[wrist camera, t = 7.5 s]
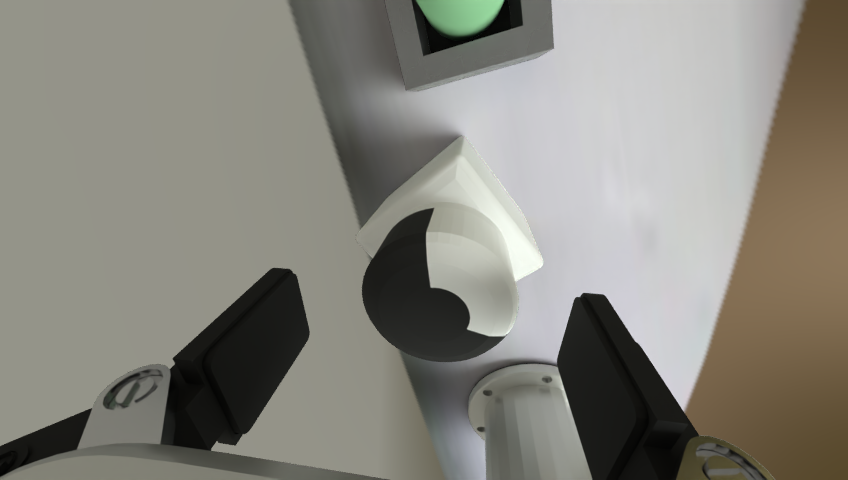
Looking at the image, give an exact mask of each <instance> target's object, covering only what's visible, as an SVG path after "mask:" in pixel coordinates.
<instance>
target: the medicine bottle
mask: <svg viewBox="0 0 848 480" xmlns="http://www.w3.org/2000/svg"><path fill="white" fill-rule="evenodd" d="M356 241H357V243H358V244H359V245H360V246H361V247H362V248H363V249H364V250H365V251H366V252H367V253H368V254H369V255H370V256H371V257H372V258H373V259H372V260H371V262H370V264H369V266H368V268H367V270H366V272H365V275H364V279H363V285H362V297H363V303H364V306H365V309H366V312H367V314H368V316H369V318H370V320H371V321H372V323H373V324H374V326H375V327H376V329H377V330H378V331H379V333H380V334H381V335H382V336H383V337H384V338H385V339H386V340H387V341H388V342H390V343H391V344H392V345H394V346H395V347H396V348H398V349H400V350H402V351H403V352H405V353H407V354H410V355H412V356H415V357H418V358H421V359H425V360H429V361H436V362H456V361H463V360H467V359H471V358H474V357H477V356H479V355H481V354H483V353H485V352H487V351H488V350H490V349H491V348H493V347H494V346H496V345H497V344H498V343H499V342H501V341H502V340H503V339H504V338H505V336H506V335H507V334H508V333H509V331H510V330H511V328H512V326H513V325H514V322H515V320H516V317H517V313H518V308H519V296H518V290H517V285H516V281H518V280H519V279H521V278H523V277H525V276H527V275H528V274H530V273H532V272H534V271H536V270H537V269H539V268H541V267H542V265H543V259H542V256H541V254H540V252H539V249H538V247H537V244H536V242H535V240H534V237H533V235H532V233H531V230H530V228H529V226H528V223H527V221H526V219H525V216H524V214H523V212H522V211H521V210H520V208H519V207H518V206H517V204H516V203H515V202H514V200H513V199H512V198H511V196H510V195H509V193H508V192H507V191H506V189H505V188H504V187H503V185H502V184H501V183H500V181H499V180H498V179H497V177H496V176H495V175H494V173H493V172H492V171H491V169H490V168H489V167H488V165H487V164H486V163H485V161H484V160H483V159H482V157H481V156H480V155H479V153H478V152H477V151H476V149H475V148H474V147H473V145H472V144H471V143H470V141H469V140H468V139H467V138H466V137H465V136H460V137H458V138H457V139H456V140H455V141H454V142H452V143H451V144H450V145H449V146H448V147H447V148H445V149H444V150H443V151H442V152H441V153H439V154H438V155H437V156H436V157H435V158H433V159H432V160H431V161H430V162H429V163H427V164H426V165H425V166H424V167H423V168H421V169H420V170H419V171H418V172H417V173H416V174H414V175H413V176H412V177H411V178H410V179H408V180H407V181H406V182H405V183H404V184H402V185H401V186H400V187H399V188H398V189H396V190H395V191H394V192H393V193H392V194H390V195H389V196H388V197H387V198H386V200H385V201H384V202H383V203H382V204H381V206H380V207H379V208H378V209H377V210H376V212H375V213H374V214H373V215H372V216H371V218H370V219H369V220H368V221H367V222H366V224H365V225H364V226H363V227H362V228H361V229H360V231H359V232H358V233H357V235H356Z"/></svg>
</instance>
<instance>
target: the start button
mask: <svg viewBox="0 0 848 480" xmlns="http://www.w3.org/2000/svg"><path fill="white" fill-rule="evenodd" d="M416 1H417V3H418V5H419V6H420V8H421V10H422V11H423V13H424V15H425V16H426V18H427V20H428V21H429V23H430V24H431V26H432V27H433V28H434V29H435V30H436V31H437V32H438V33H439V34H440V35H442V36H443V37H445V38H448V39H450V40H455V41H465V40H470V39H472V38H475V37H477V36H479V35H481V34H482V33H483V32H485V31H486V30H487V29H488V28H489V27H490V26H491V25H492V23H493V22H494V21H495V19H496V18H497V16H498V14H499V12H500V10H501V8H502V5H503V3H504V0H416Z"/></svg>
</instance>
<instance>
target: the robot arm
mask: <svg viewBox="0 0 848 480" xmlns="http://www.w3.org/2000/svg"><path fill="white" fill-rule="evenodd" d="M308 338H309V326H308V322H307V318H306V313H305V310H304V305H303V301H302V296H301V292H300V288H299V283H298V279H297V276H296V274H293V272H292V271H291V270H290V269H282V268H272V269H271V270H269V271H268V272H267V273H266V274H265V275H264V276H263V277H262V278H260V279H259V280H258V281H257V282H256V283H255V284H254V285H253V286H252V287H251V288H249V289H248V290H247V291H246V292H245V293H244V294H243V295H242V296H241V297H240V298H239V299H237V300H236V301H235V302H234V303H233V304H232V305H231V306H230V307H229V308H227V309H226V311H224V312H223V313H222V314H221V315H220V316H219V317H218V318H216V319H215V320H214V321H213V322H212V323H211V324H210V325H209V326H208V327H207V328H206V329H204V330H203V331H202V332H201V333H200V334H199V335H198V336H197V337H196V338H194V339H193V340H192V341H191V342H190V343H189V344H188V345H187V346H186V347H185V348H184V349H183V350H181V351H180V352H179V353H178V354H177V355H176V356H175V357H174V358H173V360H174V362H175V365H174V366H173V367H172V368H171V369H169V368H168V367H167V366H165V365H161V364H155V365H148V366H144V367H140V368H138V369H135V370H133V371H130V372H128V373H127V374H125V375H123V376H121V377H119V378H118V379H116V380H115V381H114V382H112V383H111V384H110V385H108V386H107V387H106V388H105V389H104V390H103V391H102V392H101V393H100V395H99V396H98V398H97V399H96V401H95V403H94V406H93V408H91V409H88V410H86V411H84V412H81V413H79V414H76V415H74V416H72V417H69V418H67V419H64V420H62V421H59V422H57V423H55V424H52V425H50V426H47V427H45V428H43V429H40V430H38V431H35V432H33V433H31V434H28V435H26V436H23V437H21V438H18V439H16V440H13V441H11V442H9V443H6V444H4V445H2V446H0V480H387V479H381V478H376V477H369V476H364V475H357V474H352V473H346V472H339V471H334V470H328V469H322V468H315V467H309V466H302V465H297V464H291V463H284V462H278V461H272V460H266V459H260V458H253V457H247V456H241V455H235V454H229V453H222V452H215V451H211V448H212V447H213V445H214V444H215V443H216V441H218V443H223V444H229V445H236V444H237V442H238V441H239V439H240V438H241V436H242V434H246V433H247V432H248V431H249V430H250V429H251V428H252V426H253V424H254V423H255V421H256V420H257V418H258V417H259V415H260V414H261V412H262V411H263V409H264V407H265V406H266V404H267V403H268V401H269V400H270V398H271V397H272V395H273V393H274V392H275V390H276V389H277V387H278V386H279V384H280V382H281V381H282V379H283V378H284V376H285V375H286V373H287V372H288V370H289V369H290V367H291V366H292V364H293V362H294V361H295V359H296V358H297V356H298V355H299V353H300V352H301V350H302V348H303V347H304V345H305V344H306V342H307V340H308ZM557 366H558V367H556V366H552V365H544V364H520V365H514V366H509V367H506V368H503V369H500V370H497V371H495V372H493V373H491V374H489V375H487V376H486V377H484V378H483V379H482V380H481V381H479V382H478V383H477V385H476V386H475V387H474V388H473V390H472V392H471V394H470V396H469V403H468V417H469V420H470V423H471V425H472V427H473V429H474V430H475V432H476V433H477V434H478V435H479V436H480V437H481V438H482V439H483V440H485V454H486V480H775V479H774V478H773V477H772V476H771V474H770V473H769V472H768V471H767V470H766V469H765V468H764V467H763V466H762V465H761V464H759V463H758V462H757V461H756V460H755V459H754V458H753V457H751V456H750V455H748V454H747V453H745V452H744V451H742V450H741V449H740V448H738V447H736V446H734V445H732V444H730V443H728V442H726V441H724V440H721V439H718V438H715V437H711V436H699V435H698V433H697V431H696V430H695V428H694V427H693V425H692V424H691V422H690V421H689V419H688V418H687V416H686V415H685V413H684V412H683V410H682V409H681V407H680V406H679V404H678V402H677V401H676V399H675V398H674V396H673V395H672V393H671V392H670V390H669V389H668V387H667V386H666V384H665V383H664V381H663V380H662V378H661V377H660V375H659V374H658V372H657V371H656V369H655V368H654V366H653V364H652V363H651V361H650V360H649V358H648V357H647V355H646V354H645V352H644V351H643V349H642V348H641V347H640V345H639V344H638V343H636V342H635V341H634V339H633V338H632V336H631V335H630V333H629V332H628V330H627V328H626V327H625V325H624V324H623V322H622V321H621V319H620V318H619V316H618V315H617V313H616V311H615V310H614V308H613V307H612V305H611V304H610V302H609V301H608V299H607V298H606V296H605V295H602V294H590V293H583V294H582V295H581V297H576V298H575V300H574V303H573V306H572V310H571V313H570V316H569V320H568V323H567V327H566V330H565V334H564V337H563V341H562V344H561V347H560V351H559V354H558V358H557Z"/></svg>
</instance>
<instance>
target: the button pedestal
mask: <svg viewBox="0 0 848 480" xmlns="http://www.w3.org/2000/svg"><path fill="white" fill-rule="evenodd" d="M384 1H385V5H386V9H387V13H388V18H389V22H390V26H391V30H392V34H393V38H394V43H395V47H396V51H397V55H398V59H399V64H400V68H401V72H402V76H403V80H404V85H405V89H406V90H408V91H421V90H425V89H429V88H432V87H436V86H439V85H443V84H446V83H450V82H454V81H457V80H461V79H464V78H468V77H471V76H475V75H479V74H482V73H486V72H489V71H493V70H496V69H500V68H504V67H507V66H511V65H514V64H518V63H521V62H525V61H529V60H532V59H536V58H538V57H540V56H541V55H543V54H545V53H547V52H548V51H550V50H552V49H553V48H554V43H553V25H552V7H551V0H508V1H509V11H510V21H511V29H510V30H507V31H504V32H500V33H497V34H494V35H491V36H487V37H484V38H481V39H478V40H474V41H471V42H468V43H465V44H461V45H458V46H455V47H452V48H448V49H445V50H442V51H439V52H435V53H432V54H431V51H430V46H429V41H428V36H427V31H426V26H425V21H424V16H423V11H422V10H421V8H420V6H419V5H418V3H417V1H416V0H384Z"/></svg>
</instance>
